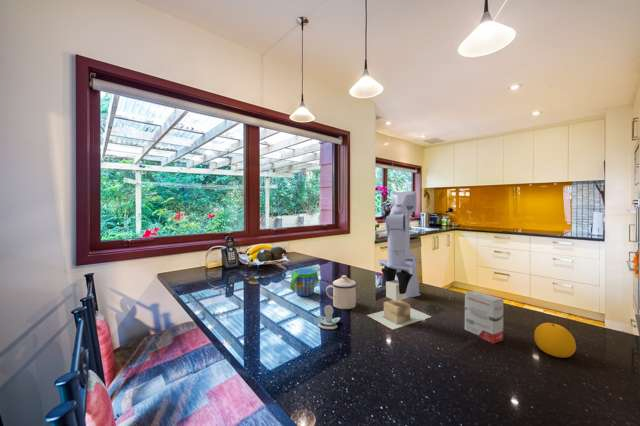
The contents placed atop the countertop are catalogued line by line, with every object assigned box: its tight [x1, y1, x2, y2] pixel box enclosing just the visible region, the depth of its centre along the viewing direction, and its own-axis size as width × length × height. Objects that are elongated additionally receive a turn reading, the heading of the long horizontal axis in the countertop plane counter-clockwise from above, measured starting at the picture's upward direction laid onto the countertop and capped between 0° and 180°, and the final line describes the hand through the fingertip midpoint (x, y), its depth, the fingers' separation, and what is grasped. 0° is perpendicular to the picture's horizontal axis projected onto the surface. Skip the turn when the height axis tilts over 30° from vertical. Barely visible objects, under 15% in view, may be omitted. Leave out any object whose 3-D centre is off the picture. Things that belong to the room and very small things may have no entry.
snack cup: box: [289, 267, 319, 297], centre depth 112 cm, size 16×10×10 cm
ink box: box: [464, 290, 504, 344], centre depth 74 cm, size 8×5×12 cm, turn 26°
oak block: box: [383, 299, 411, 324], centre depth 85 cm, size 6×6×5 cm
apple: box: [533, 322, 577, 359], centre depth 65 cm, size 8×8×8 cm
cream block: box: [385, 279, 407, 301], centre depth 85 cm, size 4×4×5 cm
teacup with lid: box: [325, 275, 357, 310], centre depth 98 cm, size 12×9×12 cm
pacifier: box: [317, 304, 341, 330], centre depth 81 cm, size 7×6×6 cm
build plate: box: [366, 307, 432, 330], centre depth 87 cm, size 18×12×1 cm, turn 119°
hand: (396, 291), depth 85 cm, fingers closed on cream block, 4 cm apart
